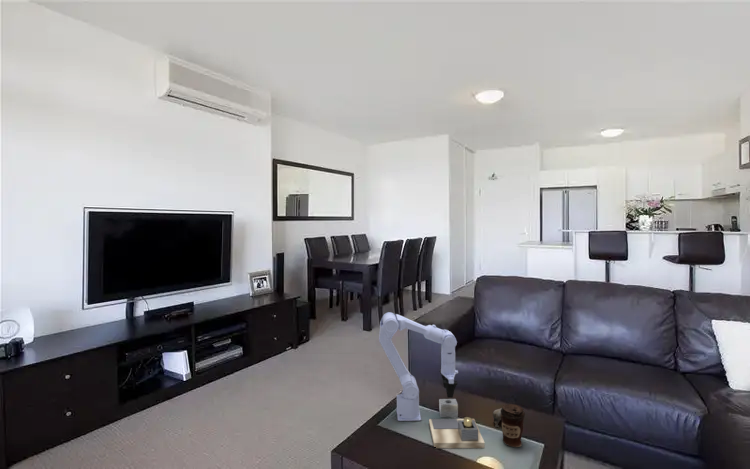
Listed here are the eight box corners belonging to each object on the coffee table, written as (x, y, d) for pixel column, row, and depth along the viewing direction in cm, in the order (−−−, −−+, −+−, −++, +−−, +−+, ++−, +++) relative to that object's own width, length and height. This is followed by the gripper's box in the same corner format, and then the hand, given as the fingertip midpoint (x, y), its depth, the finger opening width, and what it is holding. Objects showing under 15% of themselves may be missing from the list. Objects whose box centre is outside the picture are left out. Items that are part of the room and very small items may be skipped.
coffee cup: (522, 453, 128) (522, 417, 127) (497, 445, 132) (497, 410, 131) (526, 439, 135) (526, 405, 134) (503, 432, 140) (503, 399, 139)
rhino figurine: (520, 417, 150) (520, 403, 149) (498, 429, 142) (498, 414, 142) (511, 413, 153) (511, 399, 153) (489, 424, 146) (489, 409, 145)
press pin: (464, 432, 133) (464, 421, 133) (462, 427, 136) (462, 417, 136) (472, 432, 133) (472, 421, 133) (471, 427, 136) (470, 417, 136)
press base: (434, 448, 132) (434, 431, 131) (429, 423, 146) (428, 409, 146) (484, 447, 131) (484, 431, 131) (474, 423, 146) (474, 408, 146)
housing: (440, 417, 151) (440, 404, 151) (439, 411, 156) (439, 398, 155) (457, 417, 151) (457, 404, 151) (455, 411, 155) (455, 398, 155)
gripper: (461, 368, 144) (461, 401, 145) (454, 353, 159) (454, 384, 160) (443, 368, 145) (443, 401, 145) (438, 354, 159) (438, 384, 160)
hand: (448, 392), depth 153 cm, fingers open, 7 cm apart
